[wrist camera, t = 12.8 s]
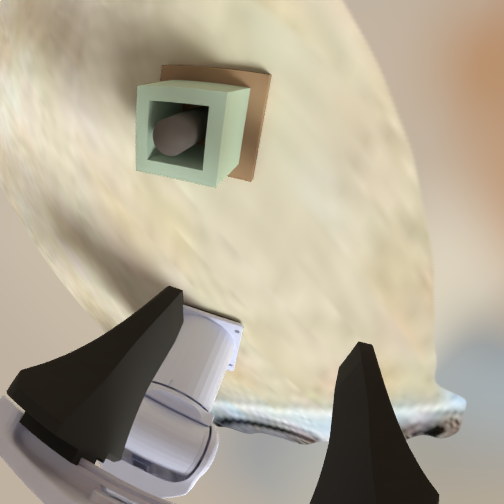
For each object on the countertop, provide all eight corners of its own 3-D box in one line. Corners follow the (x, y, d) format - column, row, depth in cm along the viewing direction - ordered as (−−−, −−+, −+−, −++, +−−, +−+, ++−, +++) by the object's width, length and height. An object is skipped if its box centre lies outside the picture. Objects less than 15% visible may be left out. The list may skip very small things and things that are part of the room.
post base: (253, 178, 19) (228, 213, 15) (160, 158, 19) (118, 186, 15) (271, 75, 14) (248, 75, 10) (166, 65, 15) (117, 69, 11)
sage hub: (238, 163, 18) (215, 188, 14) (169, 150, 18) (136, 170, 15) (250, 87, 15) (227, 92, 11) (174, 79, 15) (137, 85, 12)
